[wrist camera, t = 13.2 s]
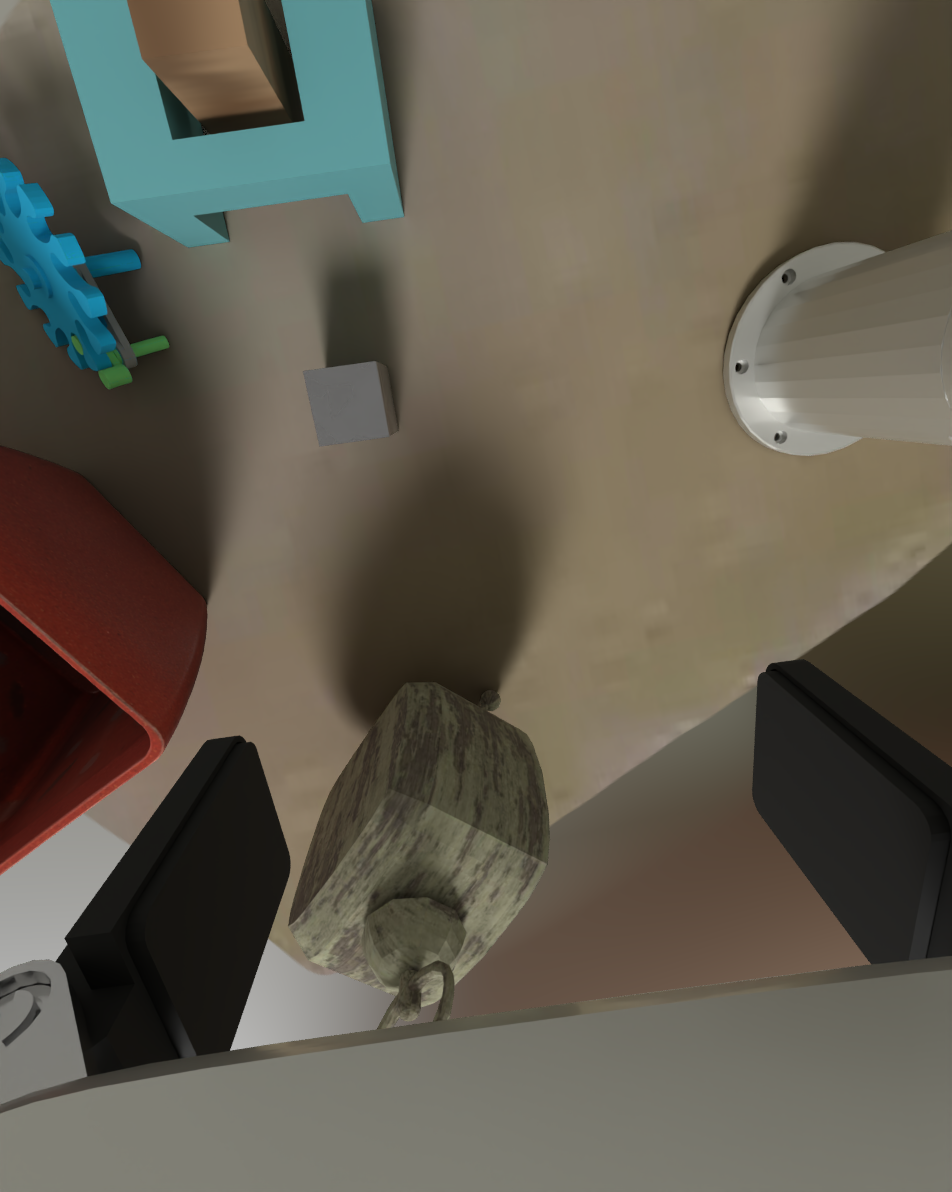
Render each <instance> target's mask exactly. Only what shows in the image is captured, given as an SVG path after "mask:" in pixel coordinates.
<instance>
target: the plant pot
mask: <svg viewBox="0 0 952 1192" xmlns="http://www.w3.org/2000/svg"><path fill="white" fill-rule="evenodd" d="M206 630H207V605H206V602H205V600H204V598H203V597H202V596H201V595H200V594H199V593H198V592H197V591H196V590H195V589H194V588H193V587H192V586H191V585H190V584H189V583H188V582H187V581H186V580H185V579H184V578H183V577H182V576H181V575H180V574H179V573H178V572H177V571H176V570H175V569H174V568H173V567H172V566H171V565H170V564H169V563H168V562H167V560H166V559H165V558H164V557H163V556H162V555H161V554H160V553H159V552H158V551H157V550H156V549H155V548H154V547H153V546H152V545H151V544H150V543H149V542H148V541H147V540H146V539H145V538H144V537H143V536H142V535H141V534H140V533H139V532H138V531H137V530H136V529H135V528H134V527H133V526H132V525H131V524H130V523H129V522H128V521H127V520H126V519H125V518H124V517H123V516H122V515H121V514H120V513H119V512H118V511H117V510H116V509H115V508H114V507H113V506H112V505H111V504H110V503H109V502H108V501H107V500H106V499H105V498H104V497H103V496H102V495H101V494H100V493H99V492H98V491H97V490H96V489H95V488H94V487H93V486H92V485H91V484H90V483H89V482H88V481H87V480H86V479H85V478H84V477H83V476H81V475H80V474H79V473H77V472H74V471H72V470H70V469H67V468H65V467H63V466H60V465H58V464H55V463H52V462H50V461H47V460H44V459H41V458H38V457H35V456H33V455H30V454H27V453H24V452H20V451H17V450H14V449H11V448H7V447H4V446H0V875H1V874H3V873H4V872H5V871H7V870H8V869H9V868H10V867H12V866H13V865H15V864H16V863H17V862H19V861H20V860H21V859H23V858H24V857H25V856H27V855H28V854H29V853H31V852H32V851H33V850H35V849H36V848H37V847H39V846H40V845H41V844H42V843H44V842H45V841H46V840H48V839H49V838H51V837H52V836H53V835H55V834H56V833H57V832H59V831H60V830H62V829H63V828H64V827H66V826H67V825H68V824H69V823H71V822H72V821H74V820H75V819H76V818H78V817H79V816H81V815H82V814H83V813H85V812H86V811H87V810H89V809H90V808H91V807H93V806H94V805H96V804H97V803H98V802H100V801H101V800H102V799H104V798H105V797H106V796H108V795H109V794H111V793H112V792H113V791H115V790H116V789H117V788H119V787H120V786H121V785H123V784H124V783H125V782H127V781H128V780H130V779H131V778H132V777H134V776H135V775H136V774H138V773H139V772H141V771H142V770H143V769H145V768H146V767H148V766H149V765H150V764H152V763H153V762H154V761H156V760H157V759H158V758H159V757H160V756H161V754H162V753H163V752H164V750H165V748H166V746H167V744H168V743H169V741H170V739H171V737H172V735H173V733H174V731H175V729H176V728H177V725H178V723H179V721H180V719H181V717H182V714H183V712H184V710H185V707H186V705H187V702H188V699H189V697H190V695H191V692H192V690H193V687H194V684H195V681H196V678H197V674H198V671H199V668H200V664H201V661H202V656H203V652H204V646H205V639H206Z"/></svg>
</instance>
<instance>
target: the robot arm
mask: <svg viewBox="0 0 952 1192" xmlns="http://www.w3.org/2000/svg"><path fill="white" fill-rule="evenodd" d="M782 276H783V277H784V282H782ZM736 363H737V364H738V367H739V368H738V370H737V371H736V370H735V366H736ZM723 378H724V386H725V393H726V397H727V400H728V403H729V406H730V409H731V411H732V413H733V415H734V416H735V418H736V420H737V422H738V423H739V425H740V426H741V427H742V428H743V429H744V430H745V432H746V433H747V434H748V435H749V436H750V437H751V438H753V439H754V440H756V441H757V442H758V443H760V444H761V445H763V446H765V447H767V448H770V449H772V450H775V451H777V452H782V453H787V454H792V455H805V456H812V455H819V454H826V453H830V452H833V451H836V450H839V449H842V448H845V447H847V446H849V445H851V444H853V443H854V442H856V441H858V440H860V439H862V438H863V437H865V438H876V439H886V440H897V441H907V442H918V443H929V444H939V445H950V446H952V230H951V231H948V232H945V233H942V234H939V235H936V236H933V237H930V238H927V239H924V240H921V241H918V242H915V243H912V244H909V245H906V246H903V247H900V248H897V249H894V250H891V251H888V252H885V251H883V250H881V249H879V248H877V247H875V246H873V245H868V244H863V243H858V242H834V243H830V244H826V245H822V246H818V247H814V248H812V249H810V250H807V251H805V252H802V253H800V254H798V255H796V256H794V257H792V258H791V259H789V260H787V261H786V262H784V263H782V264H780V265H779V266H778V267H777V268H775V269H774V270H773V271H772V272H771V273H769V274H768V275H767V276H766V277H765V278H764V279H762V281H761V282H760V283H759V284H758V285H757V287H756V288H755V289H754V290H753V291H752V292H751V294H750V295H749V296H748V298H747V299H746V301H745V302H744V304H743V306H742V307H741V309H740V311H739V312H738V314H737V316H736V319H735V321H734V323H733V326H732V328H731V331H730V333H729V337H728V341H727V345H726V349H725V354H724V368H723ZM775 434H776V438H775V440H774V436H775ZM753 768H754V769H753V787H752V792H753V793H752V794H753V800H754V803H755V806H756V808H757V810H758V812H759V814H760V815H761V816H762V818H763V819H764V821H765V822H766V823H767V824H768V826H769V827H770V829H771V830H772V831H773V833H774V834H775V835H776V837H777V838H778V839H779V841H780V842H781V843H782V845H783V846H784V848H785V849H786V850H787V852H788V853H789V854H790V855H791V857H792V858H793V860H794V861H795V862H796V864H797V865H798V866H799V868H800V869H801V870H802V872H803V873H804V874H805V876H806V877H807V879H808V880H809V881H810V883H811V884H812V885H813V887H814V888H815V889H816V891H817V892H818V893H819V895H820V896H821V897H822V899H823V900H824V901H825V903H826V904H827V905H828V907H829V908H830V910H831V911H832V912H833V914H834V915H835V916H836V917H837V919H838V920H839V922H840V923H841V924H842V926H843V927H844V928H845V930H846V931H847V932H848V934H849V935H850V937H851V938H852V939H853V940H854V942H855V943H856V945H857V946H858V947H859V948H860V950H861V951H862V952H863V954H864V955H865V957H866V958H867V959H868V961H869V962H870V963H871V965H863V966H855V967H847V968H839V969H831V970H823V971H816V972H807V973H800V974H792V975H784V976H776V977H768V978H760V979H753V980H744V981H737V982H729V983H721V984H714V985H705V986H697V987H690V988H682V989H675V990H666V991H659V992H651V993H644V994H636V995H629V996H621V997H613V998H607V999H599V1000H592V1001H583V1002H576V1003H568V1004H560V1005H554V1006H546V1007H538V1008H531V1009H523V1010H517V1011H508V1012H502V1013H494V1014H487V1015H479V1016H471V1017H464V1018H456V1019H449V1020H442V1021H435V1022H428V1023H421V1024H413V1025H406V1026H399V1027H392V1028H385V1029H377V1030H370V1031H363V1032H356V1033H349V1034H342V1035H334V1036H327V1037H320V1038H313V1039H306V1040H299V1041H292V1042H284V1043H278V1044H270V1045H264V1046H257V1047H251V1048H245V1049H239V1050H232V1051H230V1048H231V1046H232V1042H233V1040H234V1037H235V1034H236V1031H237V1028H238V1025H239V1022H240V1019H241V1016H242V1013H243V1010H244V1008H245V1005H246V1002H247V999H248V996H249V993H250V990H251V987H252V984H253V981H254V978H255V975H256V972H257V969H258V966H259V963H260V960H261V957H262V954H263V952H264V948H265V946H266V943H267V940H268V937H269V934H270V931H271V928H272V925H273V922H274V919H275V916H276V913H277V910H278V907H279V904H280V902H281V899H282V896H283V893H284V890H285V887H286V884H287V881H288V878H289V874H290V855H289V851H288V848H287V845H286V842H285V838H284V835H283V832H282V829H281V826H280V822H279V819H278V816H277V813H276V810H275V806H274V803H273V800H272V797H271V793H270V790H269V787H268V784H267V781H266V777H265V774H264V771H263V768H262V765H261V761H260V758H259V755H258V752H257V749H256V746H255V745H254V744H253V743H252V742H247V743H246V741H245V739H244V738H243V737H241V736H233V737H225V738H218V739H211V740H207V741H206V742H205V743H204V744H203V746H202V747H201V748H200V750H199V751H198V753H197V754H196V755H195V757H194V758H193V760H192V761H191V762H190V764H189V765H188V767H187V768H186V769H185V771H184V772H183V774H182V775H181V776H180V778H179V779H178V781H177V782H176V783H175V785H174V786H173V788H172V789H171V790H170V792H169V793H168V795H167V796H166V797H165V799H164V800H163V801H162V803H161V804H160V806H159V807H158V808H157V810H156V811H155V813H154V814H153V815H152V817H151V818H150V820H149V821H148V822H147V824H146V825H145V827H144V828H143V829H142V831H141V832H140V834H139V835H138V836H137V838H136V839H135V841H134V842H133V843H132V845H131V846H130V848H129V849H128V851H127V852H126V853H125V855H124V856H123V857H122V859H121V860H120V862H119V863H118V864H117V866H116V867H115V869H114V870H113V871H112V873H111V874H110V876H109V877H108V878H107V880H106V881H105V882H104V884H103V885H102V887H101V888H100V890H99V891H98V892H97V894H96V895H95V897H94V898H93V899H92V901H91V902H90V903H89V905H88V906H87V908H86V909H85V910H84V912H83V913H82V915H81V916H80V918H79V919H78V920H77V922H76V923H75V924H74V926H73V927H72V929H71V930H70V932H69V933H68V934H67V936H66V937H65V940H66V942H67V944H68V945H67V946H66V947H65V949H64V950H63V952H62V953H61V955H60V956H59V957H58V959H57V960H56V962H54V961H51V960H33V961H30V962H26V963H23V964H20V965H17V966H14V967H11V968H9V969H7V970H6V971H4V972H1V973H0V1192H952V767H950V766H949V765H948V764H946V763H945V762H944V761H942V760H941V759H940V758H938V757H937V756H936V755H934V754H933V753H931V752H930V751H929V750H927V749H926V748H925V747H923V746H922V745H921V744H919V743H918V742H917V741H915V740H914V739H913V738H911V737H910V736H908V735H907V734H906V733H904V732H903V731H902V730H900V729H899V728H898V727H896V726H895V725H894V724H892V723H891V722H889V721H888V720H887V719H885V718H884V717H883V716H881V715H880V714H879V713H877V712H876V711H875V710H873V709H872V708H870V707H869V706H868V705H866V704H865V703H864V702H862V701H861V700H860V699H858V698H857V697H856V696H854V695H853V694H852V693H850V692H849V691H848V690H846V689H845V688H843V687H842V686H841V685H839V684H838V683H837V682H835V681H834V680H833V679H831V678H830V677H829V676H827V675H826V674H824V673H823V672H822V671H820V670H819V669H818V668H816V667H815V666H814V665H812V664H811V663H810V662H808V661H806V660H804V659H803V660H793V661H785V662H778V663H771V664H770V665H768V667H767V669H766V672H763V673H761V674H760V675H759V677H758V683H757V705H756V727H755V746H754V766H753Z"/></svg>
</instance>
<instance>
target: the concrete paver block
mask: <svg viewBox="0 0 952 1192" xmlns="http://www.w3.org/2000/svg"><path fill="white" fill-rule="evenodd" d="M303 374H304V378H305V383H306V387H307V392H308V396H309V401H310V405H311V410H312V414H313V419H314V423H315V428H316V432H317V437H318V441H319V446H326V445H333V444H341V443H348V442H355V441H362V440H369V439H376V438H383V437H390V436H391V435H393V434H394V433H396V432H397V431H398V425H397V419H396V413H395V408H394V402H393V396H392V390H391V384H390V379H389V373H388V367H387V366H385V365H383V364H381V363H379V362H377V361H372V362H365V363H358V364H351V365H344V366H336V367H329V368H322V369H315V370H308V371H303Z"/></svg>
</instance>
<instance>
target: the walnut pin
mask: <svg viewBox="0 0 952 1192" xmlns="http://www.w3.org/2000/svg"><path fill="white" fill-rule="evenodd" d="M127 3H128V7H129V11H130V15H131V19H132V23H133V26H134V30H135V34H136V38H137V42H138V46H139V50H140V53H141V57H142V60H143V61H144V62H145V63H146V64H147V65H148V66H149V67H150V69H151V70H152V71H153V72H154V73H155V74H156V75H157V76H158V77H159V78H160V79H161V81H162V82H163V83H164V84H165V85H166V86H167V87H168V88H169V89H170V90H171V92H172V93H173V94H174V95H175V96H176V97H177V98H178V99H179V100H180V101H181V103H182V104H183V105H184V106H185V107H186V108H187V109H188V110H189V111H190V112H191V113H192V115H193V116H194V117H195V118H196V119H197V120H198V121H199V122H200V123H201V124H202V126H203V127H204V128H205V129H206V130H207V131H208V132H209V133H210V134H218V133H225V132H232V131H239V130H246V129H253V128H260V127H267V126H274V125H281V124H288V123H295V122H302V121H305V120H304V115H303V110H302V104H301V99H300V94H299V89H298V84H297V79H296V73H295V68H294V63H293V60H292V58H291V56H290V54H289V52H288V49H287V47H286V45H285V43H284V41H283V39H282V37H281V35H280V32H279V30H278V28H277V26H276V24H275V22H274V20H273V17H272V15H271V13H270V11H269V9H268V7H267V5H266V3H265V0H127Z"/></svg>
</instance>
